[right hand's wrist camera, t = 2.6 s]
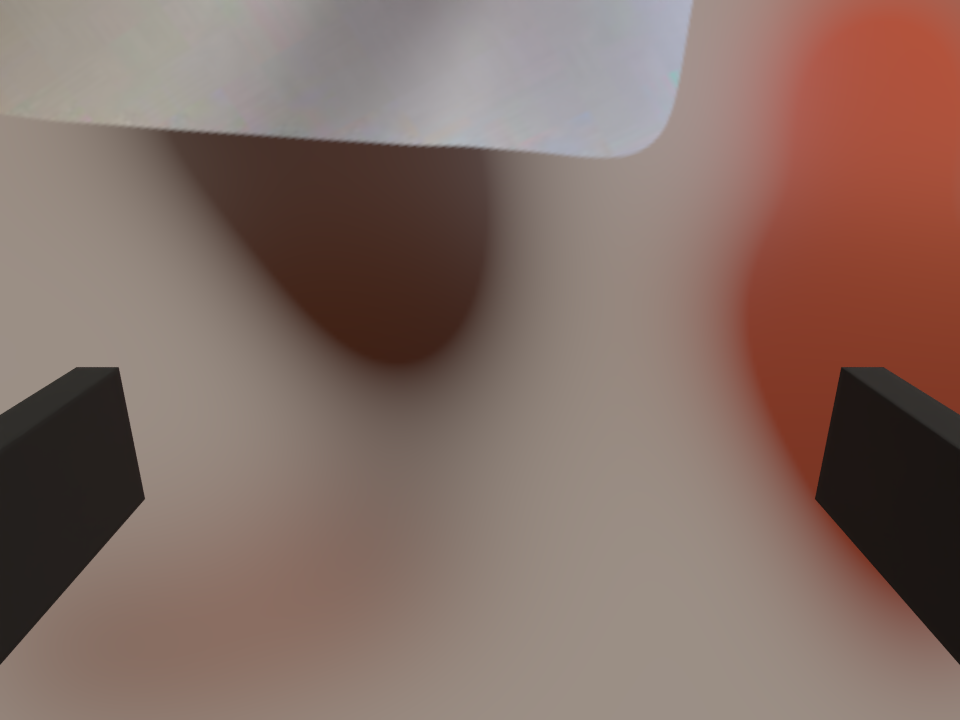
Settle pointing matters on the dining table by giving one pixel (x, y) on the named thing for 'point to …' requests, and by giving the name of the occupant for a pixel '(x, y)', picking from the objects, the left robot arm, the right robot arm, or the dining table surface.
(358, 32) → the dining table surface
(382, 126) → the dining table surface
